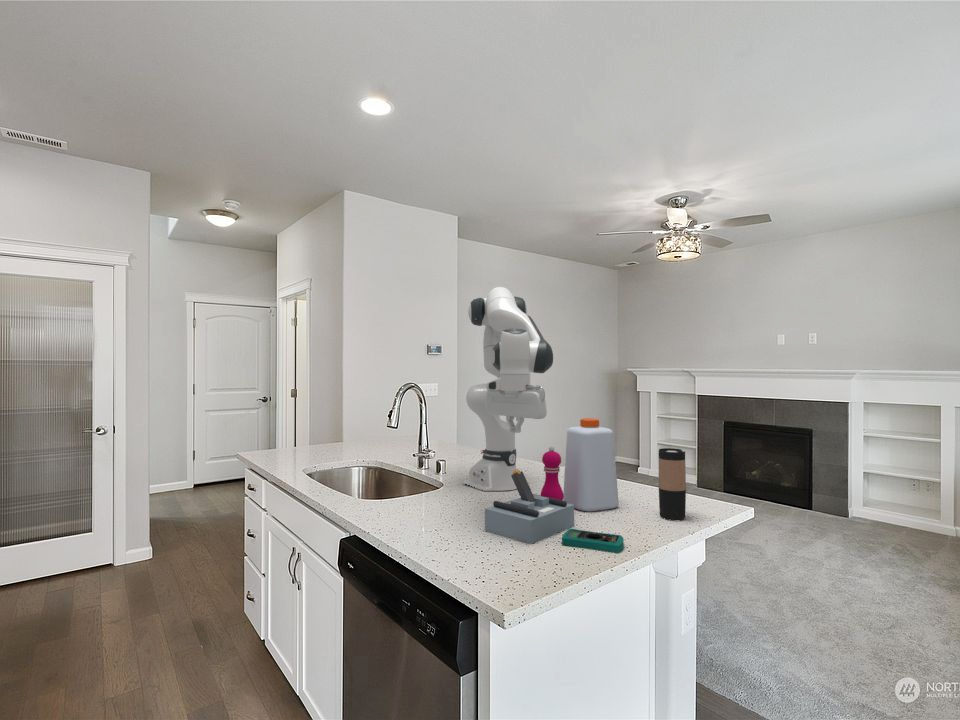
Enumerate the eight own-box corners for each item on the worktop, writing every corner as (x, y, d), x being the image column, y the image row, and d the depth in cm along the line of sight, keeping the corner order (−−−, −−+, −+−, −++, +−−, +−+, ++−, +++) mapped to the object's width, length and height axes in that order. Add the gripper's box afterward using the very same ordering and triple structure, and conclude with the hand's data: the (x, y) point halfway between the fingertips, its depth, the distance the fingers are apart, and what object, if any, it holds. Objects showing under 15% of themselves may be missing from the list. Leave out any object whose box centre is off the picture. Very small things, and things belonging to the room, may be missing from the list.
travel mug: (654, 517, 150) (653, 450, 150) (665, 511, 155) (665, 447, 156) (679, 522, 144) (678, 453, 145) (690, 516, 150) (689, 450, 150)
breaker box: (484, 530, 139) (484, 501, 139) (529, 514, 153) (529, 488, 153) (530, 544, 127) (530, 512, 128) (574, 525, 142) (574, 497, 142)
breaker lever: (525, 508, 140) (508, 472, 144) (531, 506, 142) (515, 470, 146) (530, 505, 138) (514, 468, 142) (537, 503, 140) (520, 466, 145)
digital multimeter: (621, 555, 121) (621, 543, 121) (560, 546, 127) (560, 535, 127) (625, 545, 127) (625, 534, 128) (567, 538, 133) (567, 526, 134)
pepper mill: (563, 513, 154) (562, 448, 154) (539, 512, 155) (539, 447, 156) (564, 507, 161) (563, 444, 161) (541, 506, 162) (541, 444, 163)
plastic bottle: (624, 508, 159) (623, 420, 160) (583, 513, 154) (582, 422, 154) (596, 497, 173) (595, 416, 174) (558, 501, 168) (557, 418, 168)
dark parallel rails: (491, 506, 140) (491, 501, 140) (524, 496, 151) (524, 491, 151) (536, 518, 130) (536, 511, 130) (568, 506, 140) (568, 500, 140)
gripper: (551, 385, 140) (551, 434, 140) (495, 382, 154) (496, 427, 154) (537, 386, 135) (537, 437, 135) (482, 383, 149) (482, 430, 149)
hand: (515, 432), depth 145 cm, fingers closed
